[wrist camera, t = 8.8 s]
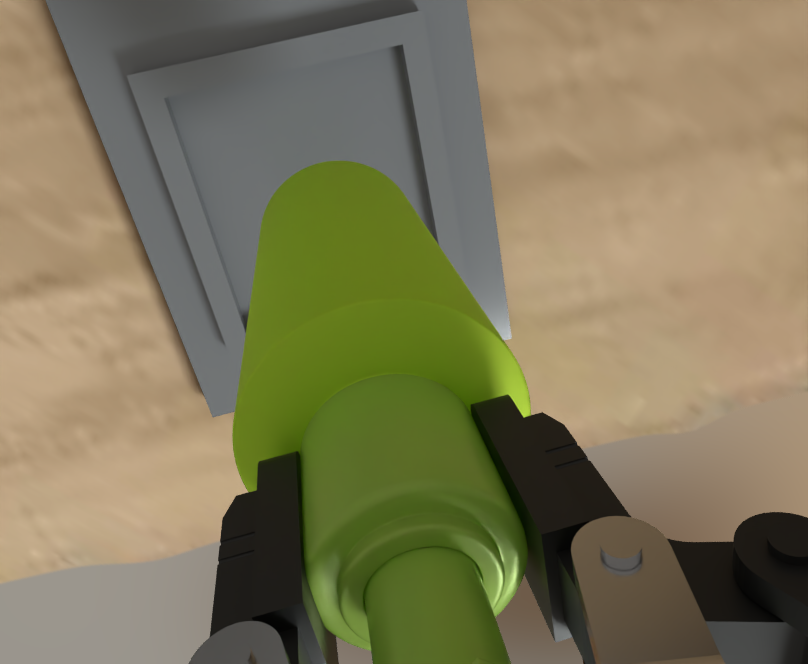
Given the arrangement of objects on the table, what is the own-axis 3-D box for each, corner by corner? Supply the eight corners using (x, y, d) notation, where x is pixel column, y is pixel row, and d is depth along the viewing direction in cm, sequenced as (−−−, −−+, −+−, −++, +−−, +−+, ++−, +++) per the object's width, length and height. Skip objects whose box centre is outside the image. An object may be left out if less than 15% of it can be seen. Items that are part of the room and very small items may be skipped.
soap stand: (52, -8, 28) (33, -11, 26) (445, -90, 30) (459, -100, 27) (214, 403, 38) (211, 426, 36) (503, 327, 39) (517, 345, 37)
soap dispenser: (215, 282, 24) (7, 1008, 6) (317, 126, 22) (431, 525, 4) (344, 355, 26) (460, 1047, 8) (447, 219, 25) (866, 734, 7)
